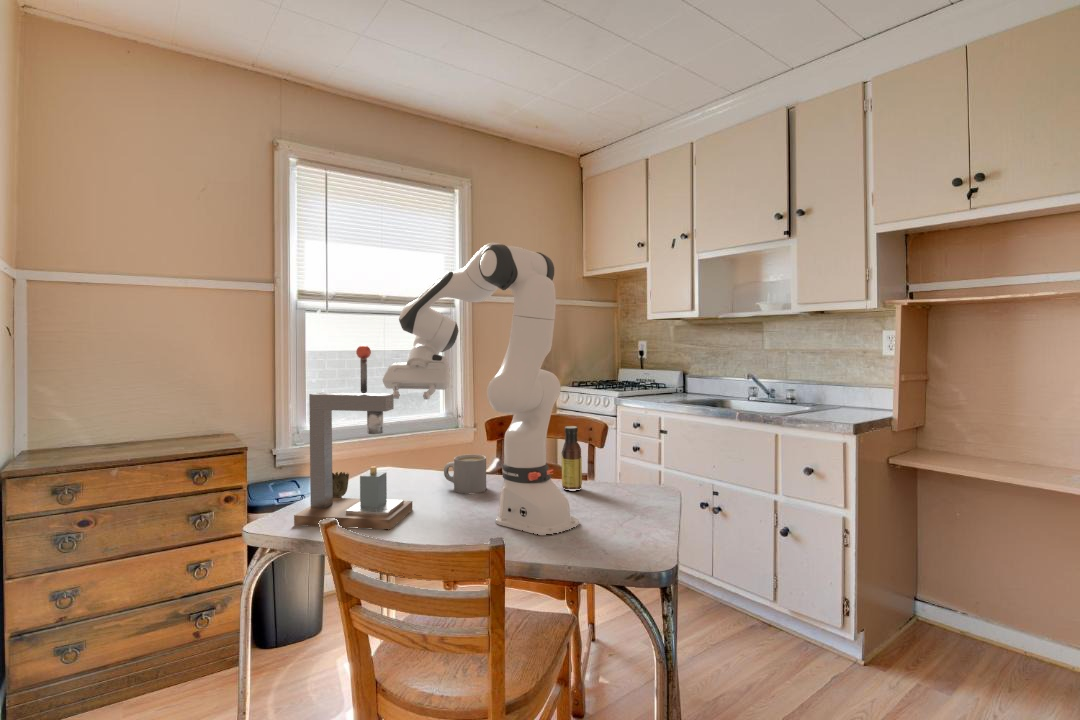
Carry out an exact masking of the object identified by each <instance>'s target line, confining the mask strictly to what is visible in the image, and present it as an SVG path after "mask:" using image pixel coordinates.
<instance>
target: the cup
mask: <svg viewBox="0 0 1080 720" xmlns="http://www.w3.org/2000/svg"><path fill="white" fill-rule="evenodd" d="M349 477H350V473H349V472H345V471H341V472H339V473H338V471H336V472H335V473H334V472H332V489H333V498H343V496H345V495H346V493H347V491H348V487H349V480H350V478H349Z"/></svg>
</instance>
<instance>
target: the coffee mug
mask: <svg viewBox="0 0 1080 720" xmlns="http://www.w3.org/2000/svg"><path fill="white" fill-rule="evenodd" d="M449 468H452V469H453V475H452V476H451V475H450V473H449ZM443 475H444V478H445V479H446V480H447V481H449V482H451V483H452V484H453V487H454V488H453V490H454V492H456V493H458V494H463V493H465V495H467V494H468V495H470V494H469V493H475V494H479V492H480V493H484V492H485V491H487V457H486V456H485V455H483V454H473V453H472V454H459V455H457V456H454V458H453V461H450V462H447V463H446V464H445V465H444V468H443Z"/></svg>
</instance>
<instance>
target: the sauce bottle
mask: <svg viewBox="0 0 1080 720" xmlns="http://www.w3.org/2000/svg"><path fill="white" fill-rule="evenodd" d="M578 428H579V427H578V426H575V425H569V426H568V425H567V426H564V437H565V438H564V443H563V447H562V449H561V450H562V451H561V453H560V454H561V485H562V487H563V488H565V489H580V488H581V489H582V483H583V478H582V477H583V472H582V471H583V470H582V469H583V468H582V462H583V461H582V448H581V446H580V444H579V442H578V430H579V429H578ZM563 488H562V489H563Z"/></svg>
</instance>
